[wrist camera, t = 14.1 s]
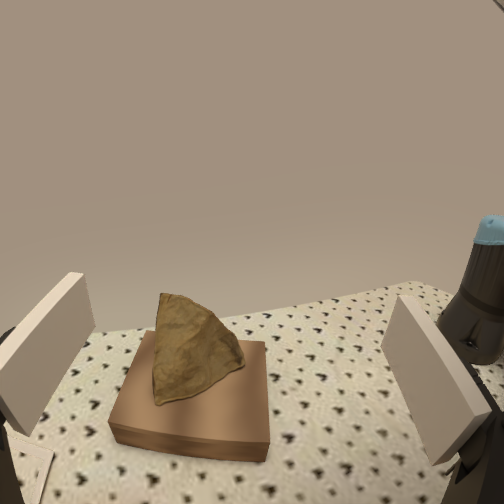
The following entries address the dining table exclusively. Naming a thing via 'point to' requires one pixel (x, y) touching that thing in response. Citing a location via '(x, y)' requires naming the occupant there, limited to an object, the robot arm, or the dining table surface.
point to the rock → (190, 349)
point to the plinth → (197, 411)
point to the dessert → (38, 453)
